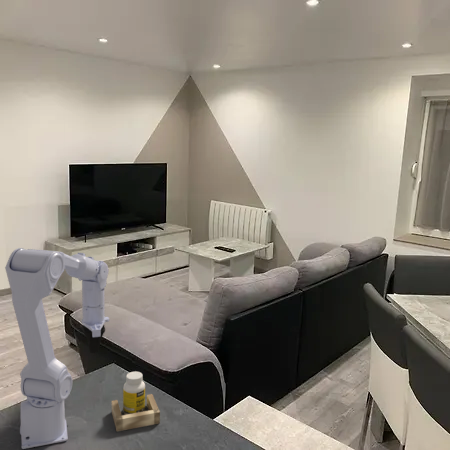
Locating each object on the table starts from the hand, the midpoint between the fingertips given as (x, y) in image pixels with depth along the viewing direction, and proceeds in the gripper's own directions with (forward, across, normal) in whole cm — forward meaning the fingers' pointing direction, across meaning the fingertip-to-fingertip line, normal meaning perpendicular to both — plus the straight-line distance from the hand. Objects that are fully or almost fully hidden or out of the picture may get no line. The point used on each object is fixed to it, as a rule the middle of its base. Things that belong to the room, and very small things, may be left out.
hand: (94, 351), depth 123 cm
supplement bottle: (+11, -15, -8) cm, 20 cm away
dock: (+10, -17, -8) cm, 21 cm away
